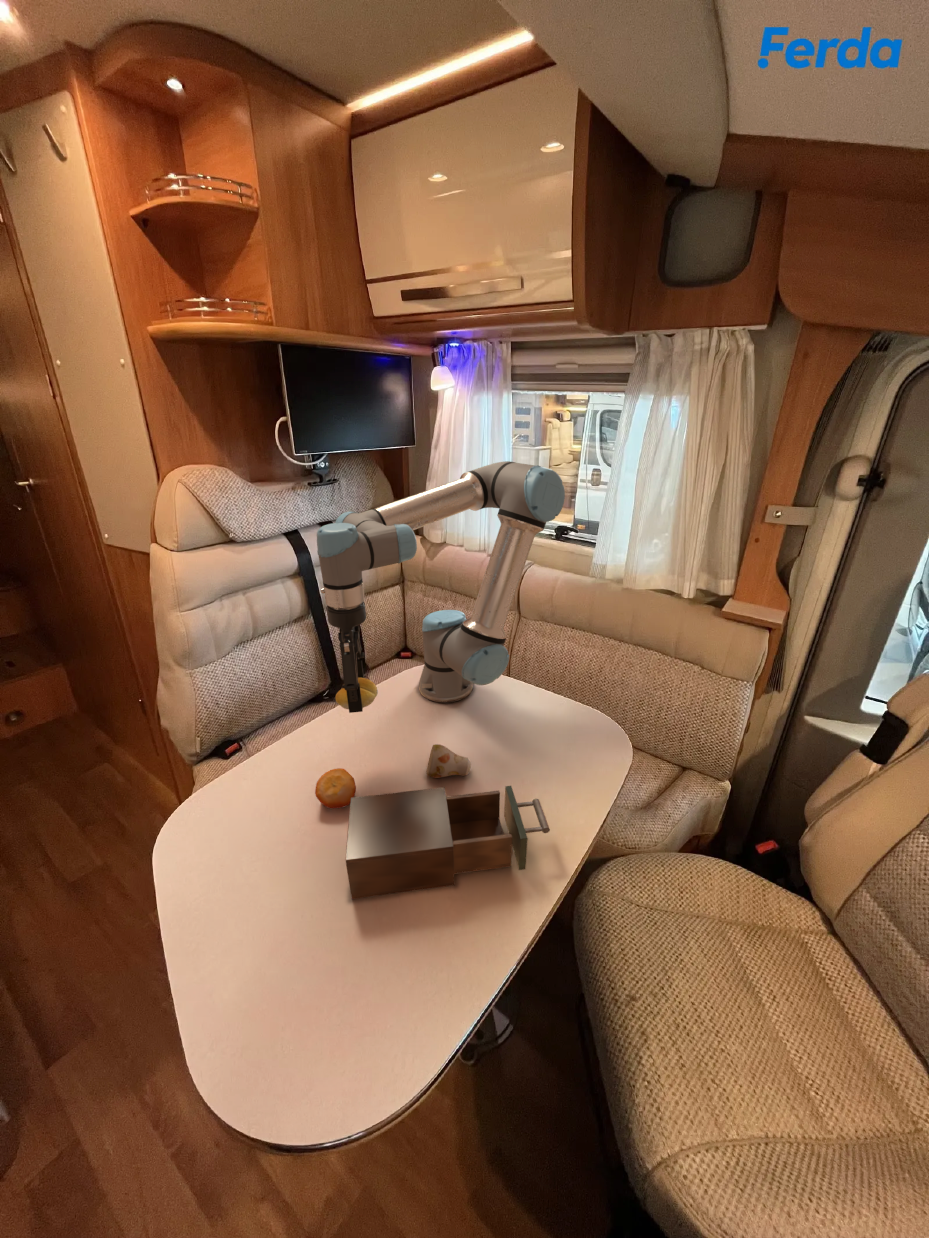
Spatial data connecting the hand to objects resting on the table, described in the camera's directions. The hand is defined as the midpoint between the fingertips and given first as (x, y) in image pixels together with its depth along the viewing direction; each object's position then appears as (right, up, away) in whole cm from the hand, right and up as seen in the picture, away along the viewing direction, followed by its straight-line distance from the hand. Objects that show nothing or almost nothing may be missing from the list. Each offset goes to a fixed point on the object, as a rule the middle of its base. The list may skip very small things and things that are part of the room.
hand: (357, 697), depth 108 cm
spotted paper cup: (+20, -17, +4) cm, 27 cm away
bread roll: (0, 0, 0) cm, 1 cm away
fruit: (-3, -21, -4) cm, 22 cm away
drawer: (+28, -25, -15) cm, 40 cm away
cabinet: (+12, -27, -16) cm, 34 cm away
